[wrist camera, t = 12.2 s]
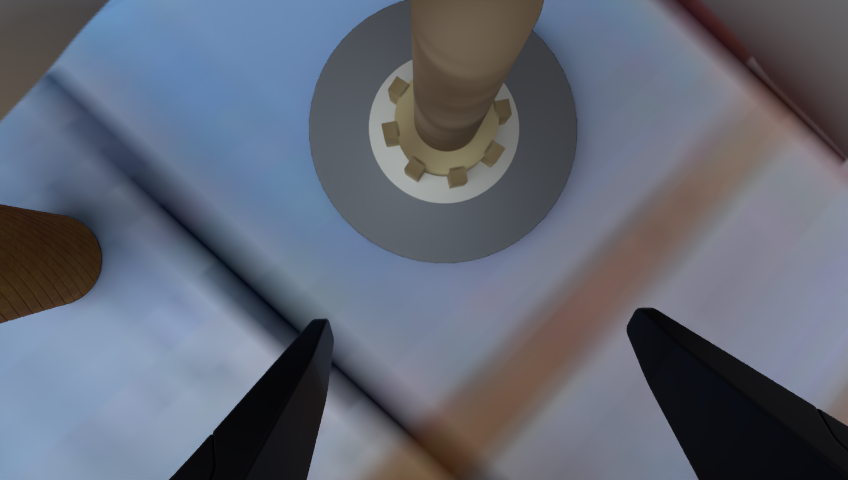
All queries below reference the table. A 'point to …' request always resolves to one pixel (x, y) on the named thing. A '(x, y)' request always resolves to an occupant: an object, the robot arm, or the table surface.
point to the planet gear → (457, 84)
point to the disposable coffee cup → (43, 261)
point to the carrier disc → (431, 197)
